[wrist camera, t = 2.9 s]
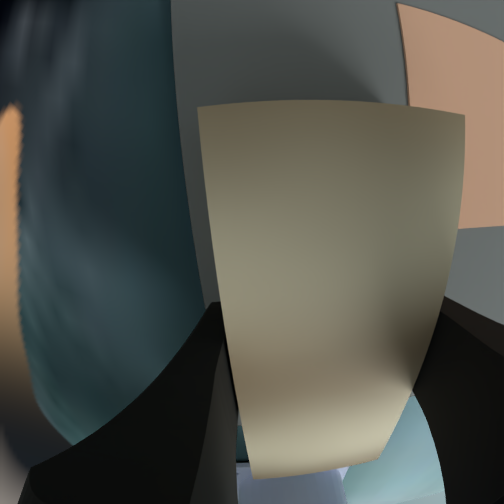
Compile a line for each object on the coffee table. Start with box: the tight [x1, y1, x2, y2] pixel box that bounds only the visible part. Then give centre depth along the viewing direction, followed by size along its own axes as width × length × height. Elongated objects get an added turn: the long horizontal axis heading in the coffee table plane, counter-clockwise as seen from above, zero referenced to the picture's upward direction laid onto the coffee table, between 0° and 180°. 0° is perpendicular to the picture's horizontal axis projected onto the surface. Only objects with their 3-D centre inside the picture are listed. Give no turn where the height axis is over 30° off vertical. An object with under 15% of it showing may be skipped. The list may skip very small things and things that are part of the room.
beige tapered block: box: [197, 100, 465, 480], centre depth 8 cm, size 12×5×4 cm, turn 4°
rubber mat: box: [171, 0, 504, 426], centre depth 9 cm, size 22×22×1 cm
